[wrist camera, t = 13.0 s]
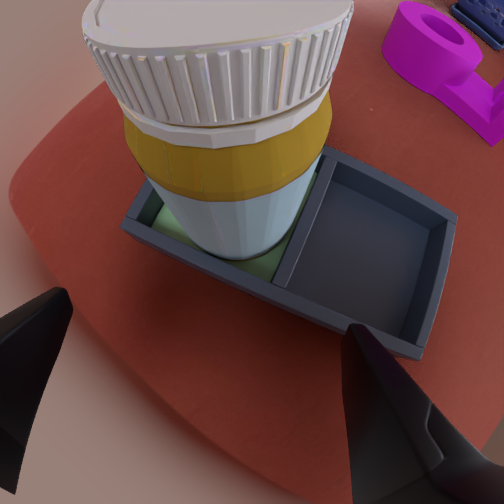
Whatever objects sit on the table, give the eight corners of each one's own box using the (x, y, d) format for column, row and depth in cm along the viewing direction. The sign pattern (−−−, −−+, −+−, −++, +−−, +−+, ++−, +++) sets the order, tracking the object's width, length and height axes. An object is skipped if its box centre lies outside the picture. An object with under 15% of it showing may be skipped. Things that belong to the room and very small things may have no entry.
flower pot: (502, 61, 26) (532, 20, 15) (441, 12, 28) (464, -34, 17) (507, 45, 29) (531, 11, 17) (456, 3, 31) (474, -33, 19)
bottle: (188, 162, 20) (119, -39, 5) (290, 163, 20) (338, -49, 5) (180, 262, 18) (10, 106, 3) (294, 264, 18) (422, 85, 3)
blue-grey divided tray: (397, 357, 17) (420, 361, 14) (136, 240, 19) (118, 227, 16) (435, 227, 19) (457, 214, 17) (204, 124, 21) (199, 100, 18)
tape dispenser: (369, 57, 24) (386, 12, 17) (396, 30, 25) (411, -6, 19) (491, 151, 21) (525, 121, 15) (497, 107, 23) (523, 79, 17)
